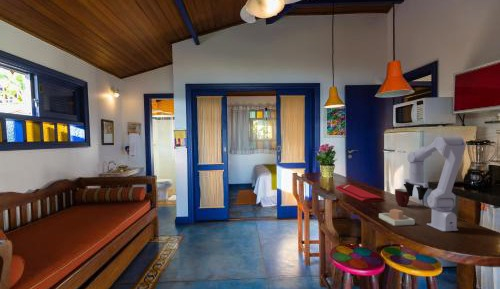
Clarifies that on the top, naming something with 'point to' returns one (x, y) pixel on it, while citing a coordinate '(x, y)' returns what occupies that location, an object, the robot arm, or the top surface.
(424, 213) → the top surface
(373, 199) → the dish drying mat
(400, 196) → the mug
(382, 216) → the tray
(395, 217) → the block
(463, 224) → the top surface
